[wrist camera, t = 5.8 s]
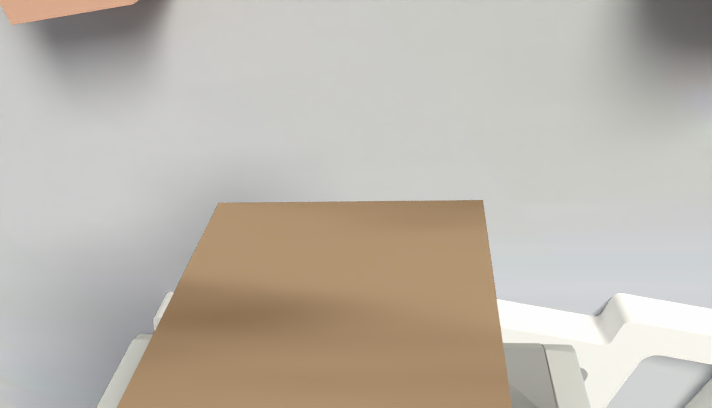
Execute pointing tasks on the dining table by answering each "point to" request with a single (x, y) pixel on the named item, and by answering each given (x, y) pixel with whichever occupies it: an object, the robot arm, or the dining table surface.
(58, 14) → the terracotta block
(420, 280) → the walnut block
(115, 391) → the robot arm
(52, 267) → the dining table surface
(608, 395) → the trivet
